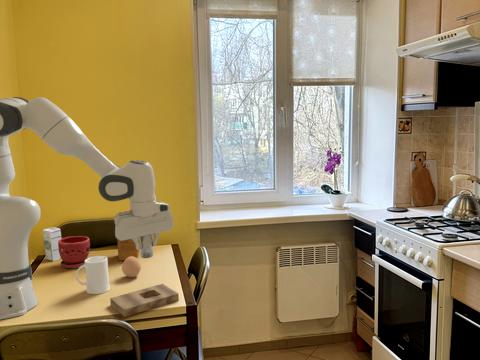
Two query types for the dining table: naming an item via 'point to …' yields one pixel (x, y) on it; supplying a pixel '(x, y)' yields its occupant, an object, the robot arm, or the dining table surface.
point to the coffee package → (127, 248)
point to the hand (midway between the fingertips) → (146, 247)
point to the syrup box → (52, 243)
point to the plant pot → (74, 251)
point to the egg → (131, 267)
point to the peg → (146, 246)
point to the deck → (143, 299)
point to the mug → (96, 275)
